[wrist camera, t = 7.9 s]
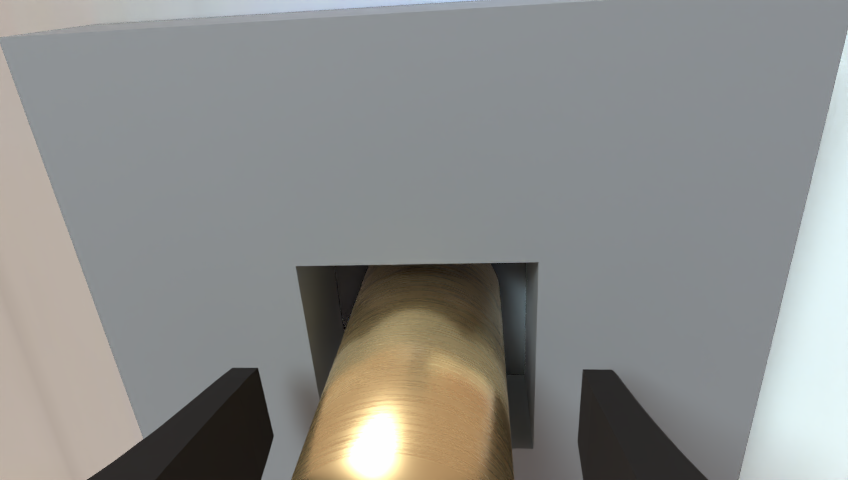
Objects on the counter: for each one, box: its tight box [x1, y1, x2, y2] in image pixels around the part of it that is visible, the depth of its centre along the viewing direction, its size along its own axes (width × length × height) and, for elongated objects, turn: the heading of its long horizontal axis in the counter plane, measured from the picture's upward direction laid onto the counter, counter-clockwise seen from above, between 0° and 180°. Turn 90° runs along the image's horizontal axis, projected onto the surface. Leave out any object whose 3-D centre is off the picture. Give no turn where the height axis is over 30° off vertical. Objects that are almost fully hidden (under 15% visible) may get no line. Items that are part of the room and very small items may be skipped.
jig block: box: [0, 0, 848, 480], centre depth 15 cm, size 16×16×3 cm
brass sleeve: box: [291, 263, 514, 480], centre depth 13 cm, size 4×4×8 cm
